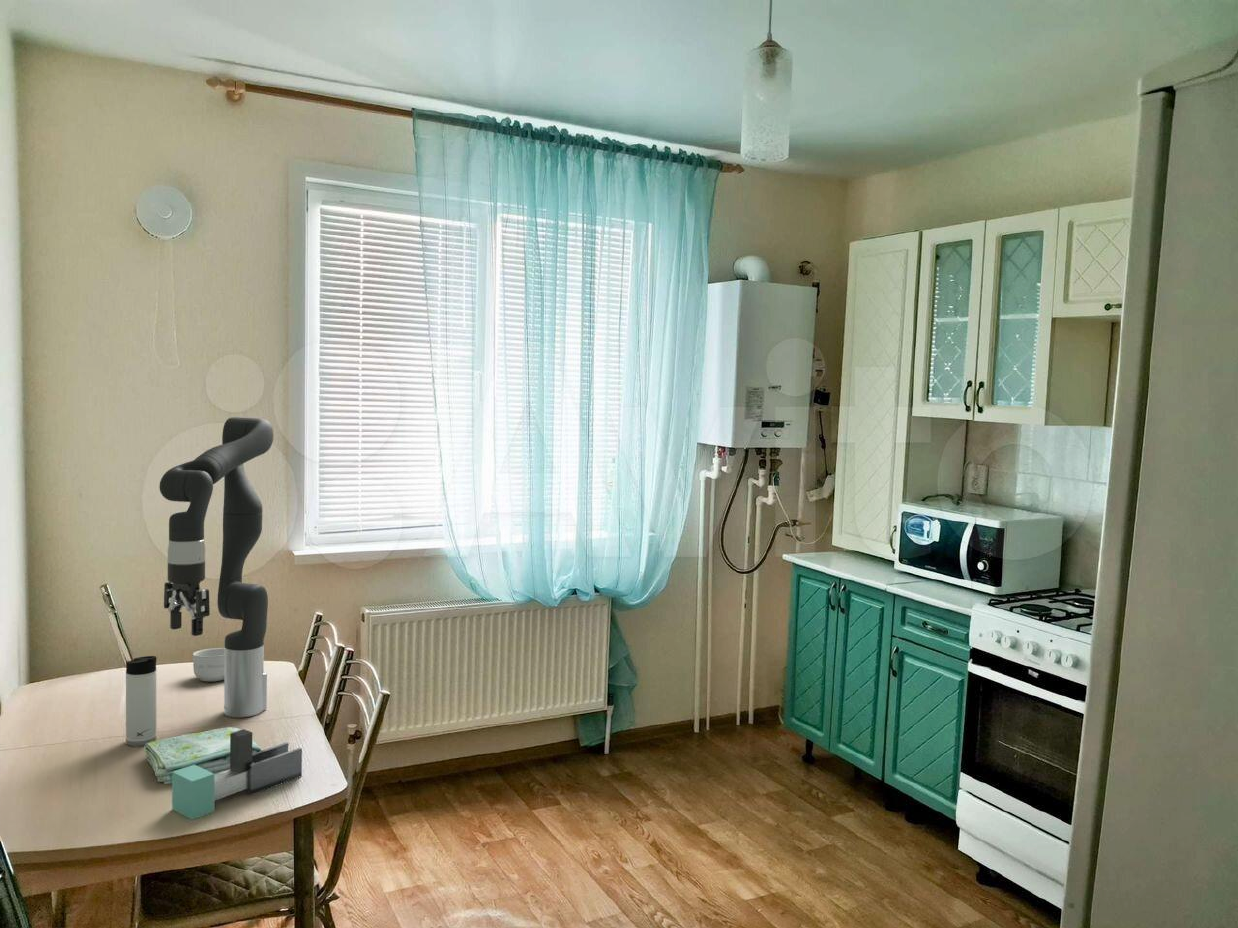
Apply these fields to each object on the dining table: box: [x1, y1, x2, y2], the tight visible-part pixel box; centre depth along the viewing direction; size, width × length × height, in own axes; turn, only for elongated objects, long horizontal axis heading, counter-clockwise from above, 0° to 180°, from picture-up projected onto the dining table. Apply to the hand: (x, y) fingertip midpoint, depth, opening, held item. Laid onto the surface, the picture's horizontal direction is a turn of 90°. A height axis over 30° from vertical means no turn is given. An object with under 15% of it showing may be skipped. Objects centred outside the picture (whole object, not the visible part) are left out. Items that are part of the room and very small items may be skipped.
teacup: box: [192, 647, 225, 682], centre depth 254 cm, size 14×11×8 cm
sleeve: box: [240, 742, 303, 796], centre depth 188 cm, size 12×5×6 cm, turn 146°
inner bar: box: [214, 728, 254, 801], centre depth 180 cm, size 14×4×11 cm, turn 146°
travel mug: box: [125, 655, 157, 747], centre depth 207 cm, size 6×7×20 cm
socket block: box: [171, 765, 215, 820], centre depth 174 cm, size 4×7×8 cm, turn 56°
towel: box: [143, 726, 262, 785], centre depth 198 cm, size 18×21×5 cm
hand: (186, 631), depth 199 cm, fingers open, 8 cm apart
